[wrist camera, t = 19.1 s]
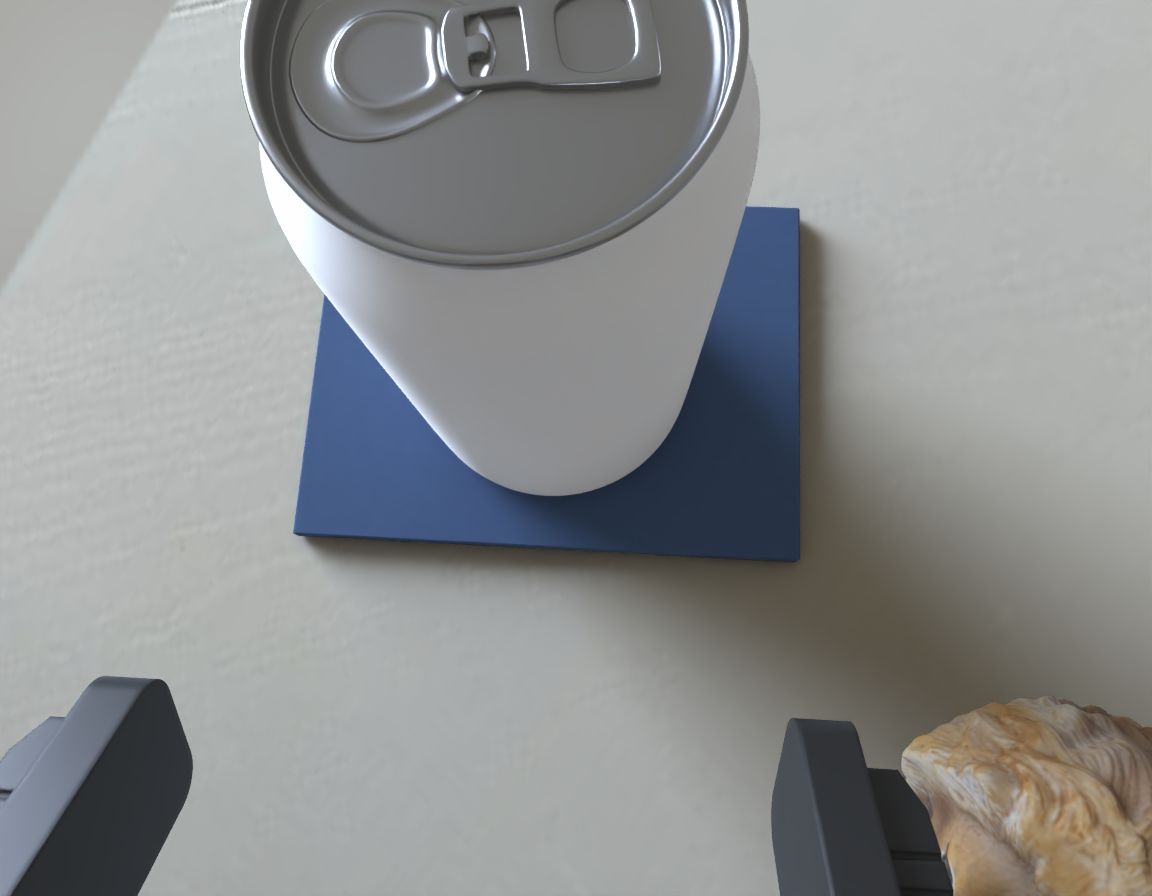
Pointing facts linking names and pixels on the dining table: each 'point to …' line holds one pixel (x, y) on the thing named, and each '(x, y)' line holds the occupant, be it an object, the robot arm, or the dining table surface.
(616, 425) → the can
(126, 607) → the dining table surface
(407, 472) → the blue mat
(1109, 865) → the lion figurine
